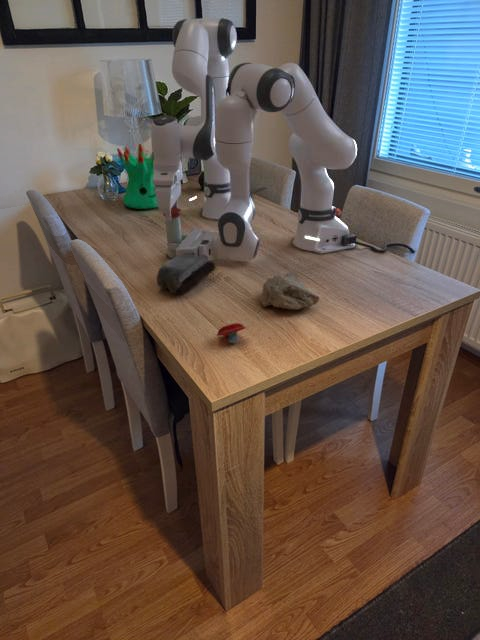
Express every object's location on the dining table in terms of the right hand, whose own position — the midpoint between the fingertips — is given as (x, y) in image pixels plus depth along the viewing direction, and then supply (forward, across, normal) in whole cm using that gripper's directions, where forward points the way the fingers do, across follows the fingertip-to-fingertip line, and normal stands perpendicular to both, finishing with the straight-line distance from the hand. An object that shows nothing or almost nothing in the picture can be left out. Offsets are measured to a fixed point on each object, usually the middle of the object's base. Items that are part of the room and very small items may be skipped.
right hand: (172, 241), depth 152 cm
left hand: (-1, 0, -9) cm, 9 cm away
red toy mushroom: (-32, +47, +5) cm, 57 cm away
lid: (-1, 0, -11) cm, 11 cm away
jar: (-1, 0, +5) cm, 5 cm away
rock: (-12, +20, +5) cm, 24 cm away
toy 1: (+32, -53, +5) cm, 62 cm away
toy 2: (+8, -83, +5) cm, 84 cm away
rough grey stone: (-42, +24, +5) cm, 49 cm away
